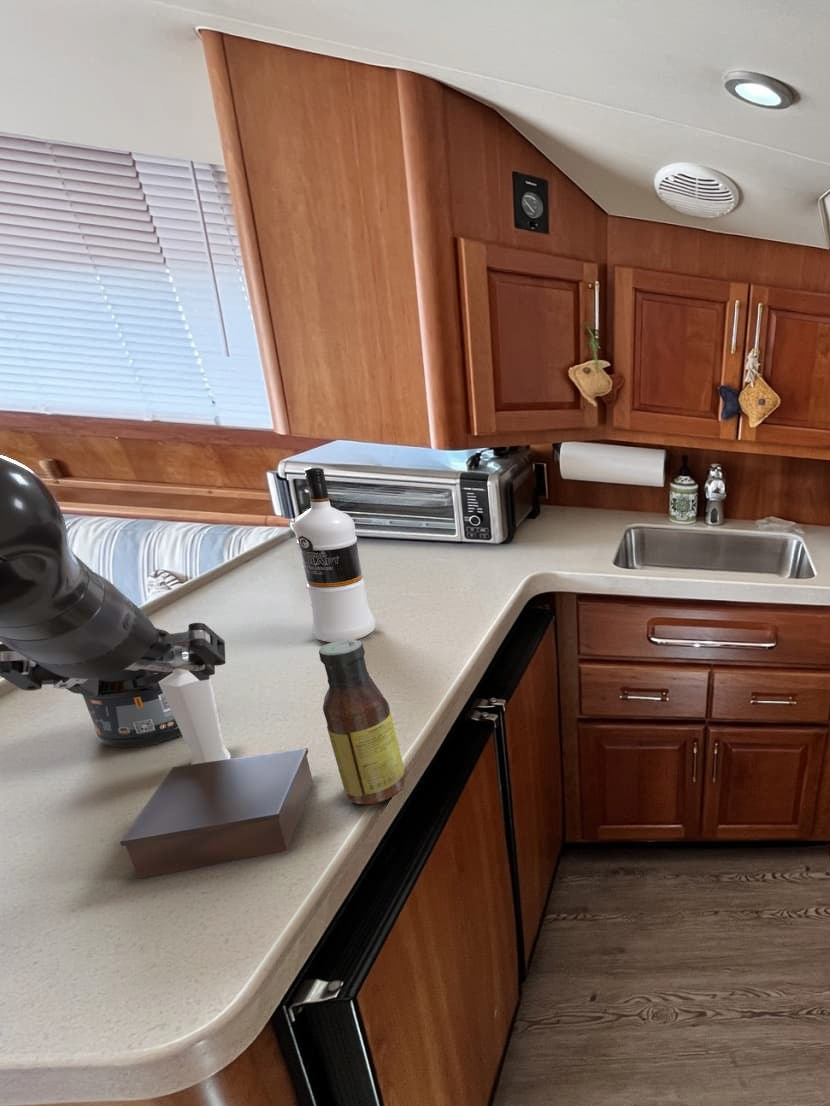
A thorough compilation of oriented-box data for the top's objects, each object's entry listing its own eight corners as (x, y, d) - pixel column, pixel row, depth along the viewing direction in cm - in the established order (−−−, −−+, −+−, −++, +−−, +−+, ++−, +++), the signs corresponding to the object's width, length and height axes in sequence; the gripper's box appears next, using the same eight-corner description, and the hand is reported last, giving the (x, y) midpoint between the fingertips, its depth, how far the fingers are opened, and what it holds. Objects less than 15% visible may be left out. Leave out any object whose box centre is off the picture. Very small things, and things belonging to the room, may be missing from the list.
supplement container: (123, 714, 88) (94, 635, 83) (220, 702, 92) (198, 627, 87) (81, 757, 79) (47, 672, 74) (191, 743, 83) (165, 661, 79)
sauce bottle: (414, 774, 81) (390, 633, 74) (394, 806, 75) (365, 658, 68) (357, 776, 80) (327, 633, 72) (332, 809, 74) (297, 658, 67)
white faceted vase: (181, 777, 77) (144, 667, 72) (195, 756, 81) (161, 651, 75) (229, 769, 79) (197, 663, 73) (241, 750, 83) (211, 646, 77)
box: (134, 881, 63) (119, 842, 61) (185, 802, 73) (173, 766, 71) (289, 851, 68) (278, 813, 66) (315, 781, 78) (307, 747, 76)
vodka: (387, 631, 117) (360, 468, 106) (334, 649, 109) (298, 475, 98) (356, 619, 121) (326, 460, 110) (302, 635, 113) (264, 467, 102)
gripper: (184, 572, 58) (237, 635, 71) (-56, 590, 50) (53, 657, 64) (186, 648, 55) (241, 699, 69) (-65, 678, 48) (50, 729, 61)
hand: (150, 679), depth 66 cm, fingers open, 8 cm apart
